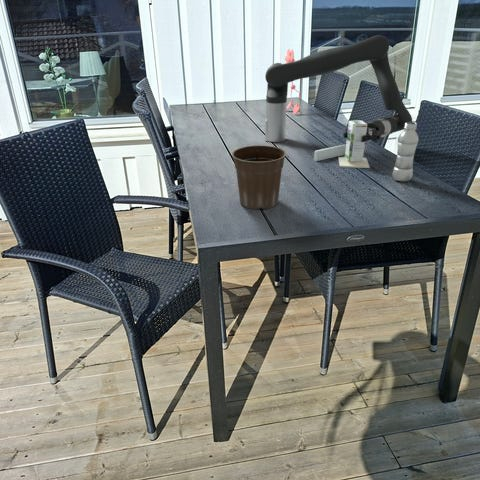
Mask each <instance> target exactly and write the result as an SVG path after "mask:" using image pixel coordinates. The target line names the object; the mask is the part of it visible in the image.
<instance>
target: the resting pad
mask: <svg viewBox="0 0 480 480" xmlns="http://www.w3.org/2000/svg"><path fill="white" fill-rule="evenodd" d="M337 158H338V164H339V167H340V168H354V169H355V168H356V169H357V168H358V169H359V168H360V169H362V168H363V169H370V164H369V162H368V159H367V157H363V161H348V160H347V159H346V158H345V156H337Z"/></svg>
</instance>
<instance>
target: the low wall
mask: <svg viewBox="0 0 480 480" xmlns="http://www.w3.org/2000/svg"><path fill="white" fill-rule="evenodd" d="M345 150H346V143H345V144H339V145H335V146H331V147H326V148H321V149H317V150H315V151H314V152H313V153H314V156H313V161H314V162H318V161H323V160H327V159H328V160H329V159H330V158H331V159H332V158H336V157H337V158H338V157H342V156H345Z"/></svg>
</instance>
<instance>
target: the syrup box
mask: <svg viewBox="0 0 480 480" xmlns="http://www.w3.org/2000/svg"><path fill="white" fill-rule="evenodd" d="M366 123H367V122H365V121H363V120H360V119H359V120H358V119H357V120H349V121H348V124H347V125H348V127H347V128H348V133H347V138H346V143H345V144H346V150H345V155H344V157H345V158H346V159H347V160H348V161H363V158H364V152H365V147H366V141H365V142H361V140H362V136H364V135H366V131H367V124H366Z"/></svg>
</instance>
